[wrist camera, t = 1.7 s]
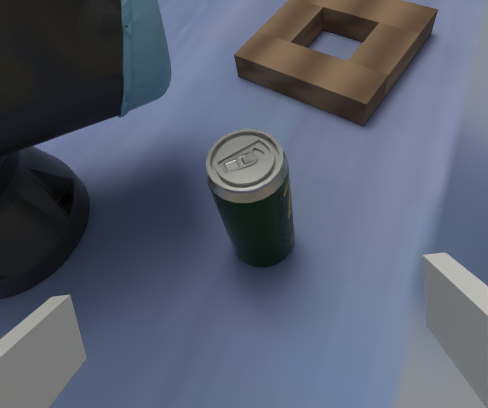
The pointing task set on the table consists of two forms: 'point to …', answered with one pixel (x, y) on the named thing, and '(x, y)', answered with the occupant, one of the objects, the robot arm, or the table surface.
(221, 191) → the beer can
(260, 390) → the table surface
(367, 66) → the socket block
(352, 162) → the table surface
